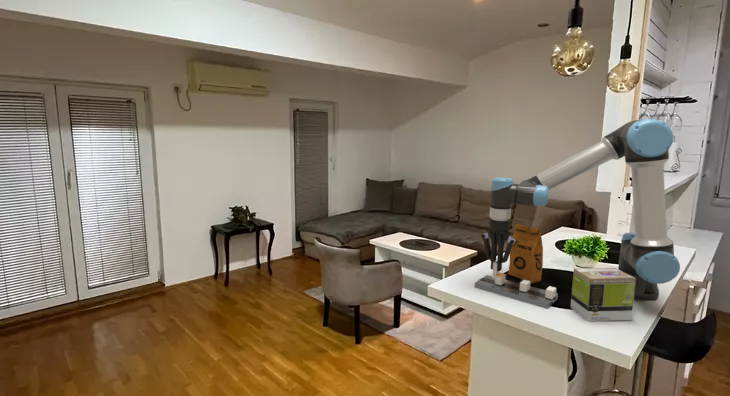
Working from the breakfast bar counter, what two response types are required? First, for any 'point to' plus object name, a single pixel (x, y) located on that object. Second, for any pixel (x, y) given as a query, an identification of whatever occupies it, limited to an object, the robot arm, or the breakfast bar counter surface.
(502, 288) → the panel
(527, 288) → the block
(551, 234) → the breakfast bar counter surface
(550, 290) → the block
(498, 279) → the block
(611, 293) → the tea box
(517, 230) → the coffee package
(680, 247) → the breakfast bar counter surface
